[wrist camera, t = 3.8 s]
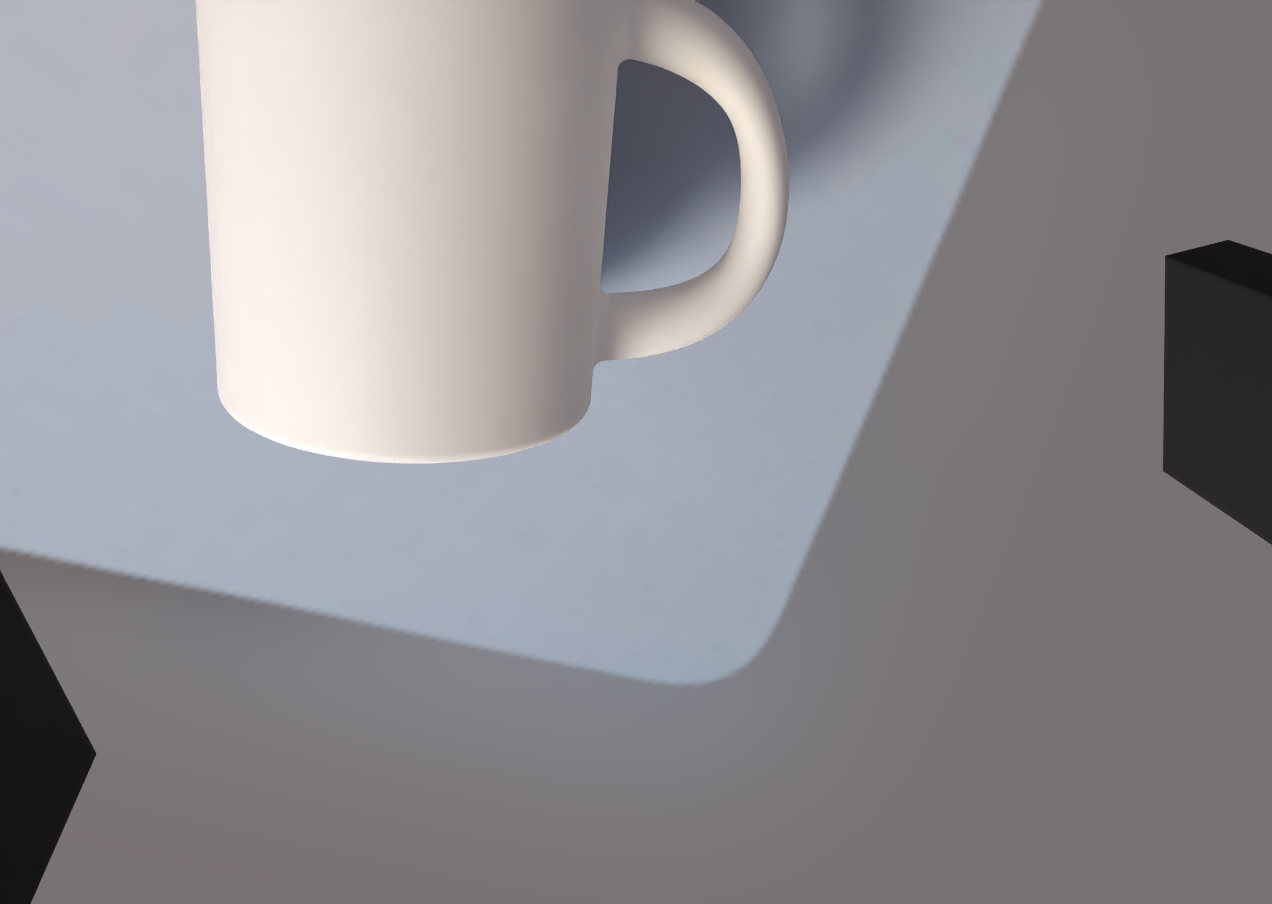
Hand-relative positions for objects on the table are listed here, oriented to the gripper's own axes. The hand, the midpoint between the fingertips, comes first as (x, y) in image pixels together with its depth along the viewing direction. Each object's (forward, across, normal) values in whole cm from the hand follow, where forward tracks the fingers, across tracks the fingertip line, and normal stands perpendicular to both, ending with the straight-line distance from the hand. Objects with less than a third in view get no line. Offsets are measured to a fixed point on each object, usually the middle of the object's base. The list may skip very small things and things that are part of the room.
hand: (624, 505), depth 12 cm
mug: (+17, 0, +2) cm, 17 cm away
